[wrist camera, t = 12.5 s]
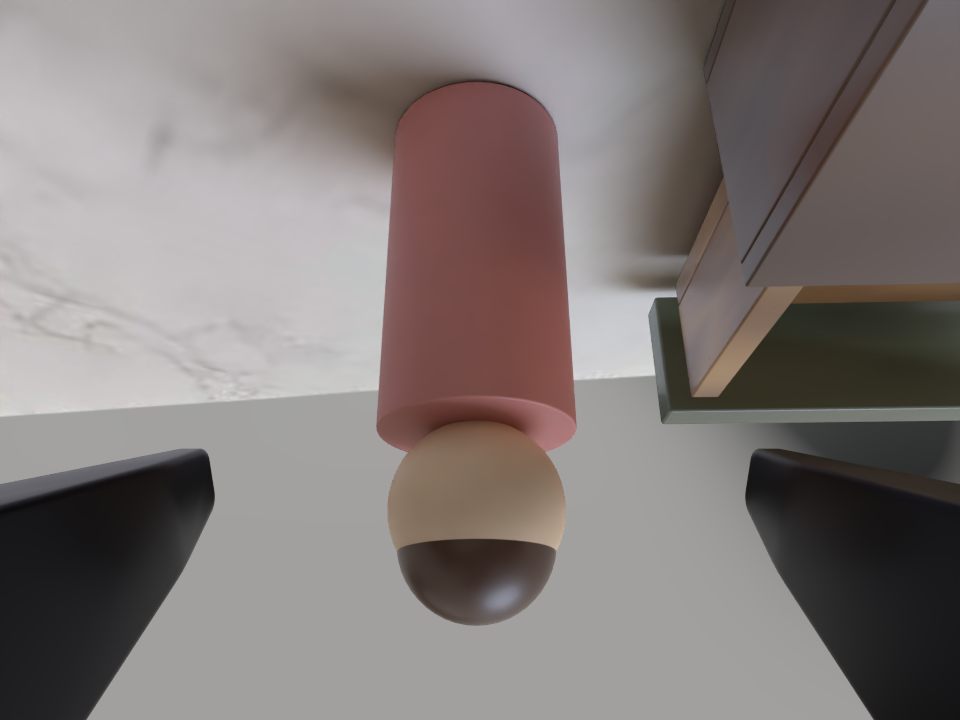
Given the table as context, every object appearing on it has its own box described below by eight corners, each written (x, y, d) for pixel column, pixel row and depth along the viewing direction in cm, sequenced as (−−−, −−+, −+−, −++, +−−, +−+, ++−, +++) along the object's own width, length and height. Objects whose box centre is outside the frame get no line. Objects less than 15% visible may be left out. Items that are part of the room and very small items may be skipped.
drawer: (948, 324, 24) (983, 432, 22) (640, 330, 24) (653, 437, 23) (1406, -34, 12) (1559, 145, 10) (778, -14, 12) (827, 162, 10)
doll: (363, 151, 17) (321, 626, 12) (465, 49, 14) (459, 612, 10) (484, 214, 19) (487, 633, 15) (591, 137, 17) (636, 624, 12)
